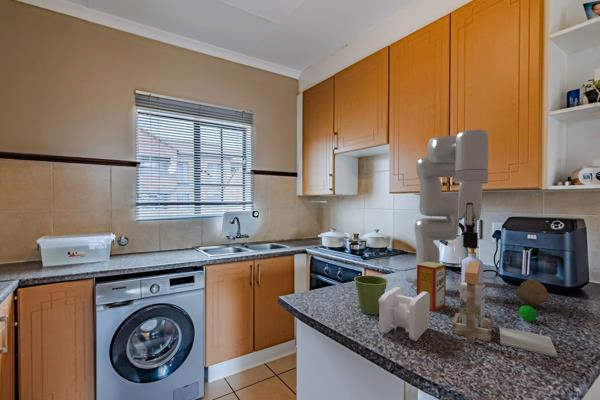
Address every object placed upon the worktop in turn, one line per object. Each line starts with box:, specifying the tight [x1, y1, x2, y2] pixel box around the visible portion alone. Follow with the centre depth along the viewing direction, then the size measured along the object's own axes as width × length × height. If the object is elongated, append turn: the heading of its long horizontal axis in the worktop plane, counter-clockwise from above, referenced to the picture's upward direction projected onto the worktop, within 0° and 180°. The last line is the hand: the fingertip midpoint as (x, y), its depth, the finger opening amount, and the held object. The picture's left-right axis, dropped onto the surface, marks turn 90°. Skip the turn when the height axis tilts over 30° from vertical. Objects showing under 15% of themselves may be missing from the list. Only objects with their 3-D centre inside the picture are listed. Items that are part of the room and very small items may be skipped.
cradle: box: [452, 283, 492, 345], centre depth 89 cm, size 10×18×16 cm, turn 147°
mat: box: [499, 326, 558, 358], centre depth 83 cm, size 12×12×1 cm
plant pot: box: [353, 274, 389, 315], centre depth 105 cm, size 12×12×11 cm
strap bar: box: [465, 262, 480, 285], centre depth 89 cm, size 3×18×3 cm, turn 147°
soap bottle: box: [460, 246, 484, 284], centre depth 143 cm, size 9×9×25 cm
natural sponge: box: [516, 279, 549, 307], centre depth 112 cm, size 9×9×10 cm
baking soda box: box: [416, 262, 447, 313], centre depth 110 cm, size 10×6×16 cm
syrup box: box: [459, 281, 486, 329], centre depth 89 cm, size 6×6×14 cm
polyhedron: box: [518, 304, 538, 323], centre depth 98 cm, size 5×5×5 cm
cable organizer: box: [378, 286, 430, 342], centre depth 89 cm, size 15×11×12 cm
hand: (470, 247), depth 78 cm, fingers closed
